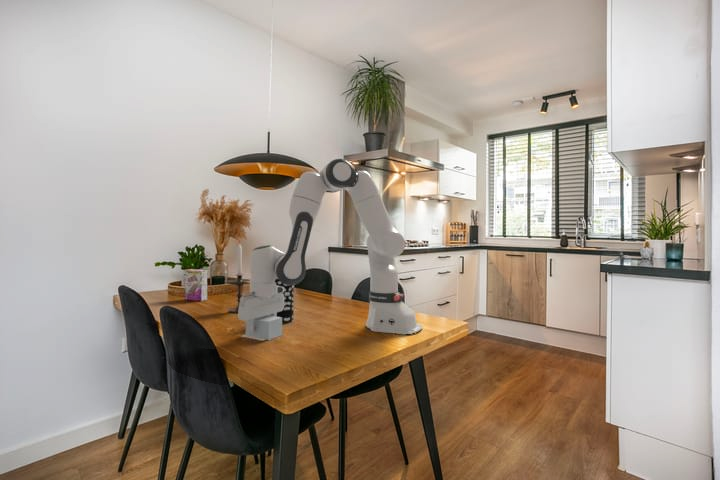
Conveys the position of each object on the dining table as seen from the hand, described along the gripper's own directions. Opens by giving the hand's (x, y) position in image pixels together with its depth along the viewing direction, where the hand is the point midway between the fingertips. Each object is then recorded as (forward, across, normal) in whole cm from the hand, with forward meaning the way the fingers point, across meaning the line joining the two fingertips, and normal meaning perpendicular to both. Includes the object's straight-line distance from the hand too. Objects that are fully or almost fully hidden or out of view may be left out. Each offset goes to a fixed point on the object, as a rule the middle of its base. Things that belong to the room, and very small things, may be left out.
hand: (262, 327), depth 132 cm
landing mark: (+3, 0, 0) cm, 3 cm away
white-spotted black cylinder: (+3, +20, +7) cm, 21 cm away
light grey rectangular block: (+3, 0, -1) cm, 3 cm away
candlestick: (+3, +24, +37) cm, 44 cm away
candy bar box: (+3, +31, +77) cm, 83 cm away
